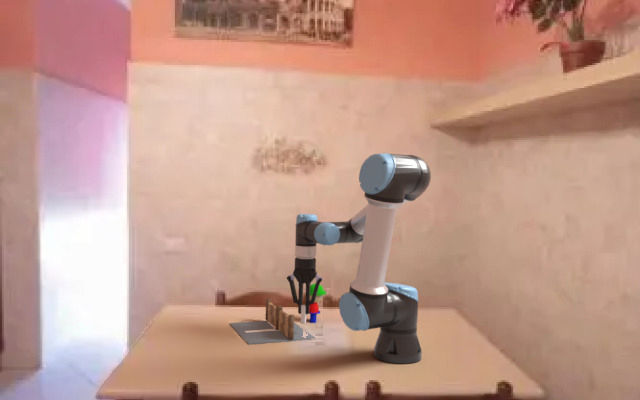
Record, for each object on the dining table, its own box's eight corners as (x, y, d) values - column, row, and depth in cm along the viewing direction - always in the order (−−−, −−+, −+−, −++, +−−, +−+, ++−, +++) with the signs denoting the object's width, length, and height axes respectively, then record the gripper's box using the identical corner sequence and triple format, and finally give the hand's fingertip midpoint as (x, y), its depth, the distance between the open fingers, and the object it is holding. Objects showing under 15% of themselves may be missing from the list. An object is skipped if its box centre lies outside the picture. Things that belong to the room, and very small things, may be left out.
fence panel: (277, 329, 208) (277, 307, 208) (282, 329, 209) (283, 307, 208) (288, 339, 196) (289, 316, 196) (294, 338, 197) (295, 315, 196)
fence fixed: (282, 331, 209) (283, 306, 209) (276, 331, 208) (277, 307, 208) (270, 320, 224) (270, 298, 223) (264, 321, 223) (264, 298, 222)
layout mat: (315, 338, 200) (315, 337, 200) (248, 344, 191) (248, 343, 191) (289, 319, 226) (289, 318, 226) (229, 324, 217) (229, 322, 217)
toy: (325, 324, 221) (326, 285, 220) (304, 323, 221) (305, 285, 220) (325, 319, 229) (326, 282, 228) (305, 318, 229) (306, 281, 228)
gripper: (325, 256, 206) (322, 321, 207) (289, 254, 208) (287, 319, 209) (322, 259, 199) (319, 326, 200) (285, 257, 201) (283, 324, 202)
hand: (303, 322), depth 204 cm, fingers closed
